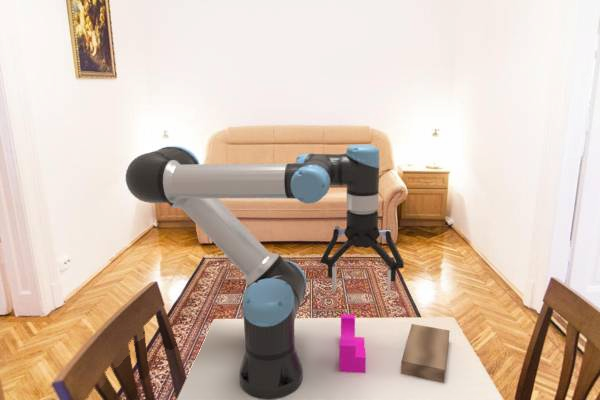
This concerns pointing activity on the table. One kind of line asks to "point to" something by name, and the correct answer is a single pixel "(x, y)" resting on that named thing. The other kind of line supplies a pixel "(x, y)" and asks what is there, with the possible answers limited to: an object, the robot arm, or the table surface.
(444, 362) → the walnut base block
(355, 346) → the toy block
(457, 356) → the table surface
